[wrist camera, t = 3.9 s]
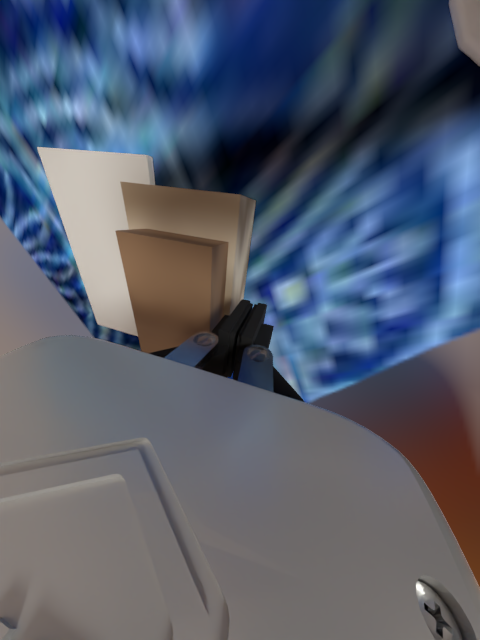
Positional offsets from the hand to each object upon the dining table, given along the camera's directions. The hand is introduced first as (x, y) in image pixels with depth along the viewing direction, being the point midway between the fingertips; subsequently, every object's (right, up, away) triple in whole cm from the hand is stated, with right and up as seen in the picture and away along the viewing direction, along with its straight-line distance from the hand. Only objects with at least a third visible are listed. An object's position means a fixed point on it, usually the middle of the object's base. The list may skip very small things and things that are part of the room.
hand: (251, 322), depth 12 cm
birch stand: (-4, +4, +6) cm, 8 cm away
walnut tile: (-5, +2, +2) cm, 6 cm away
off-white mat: (-14, +6, +7) cm, 17 cm away
